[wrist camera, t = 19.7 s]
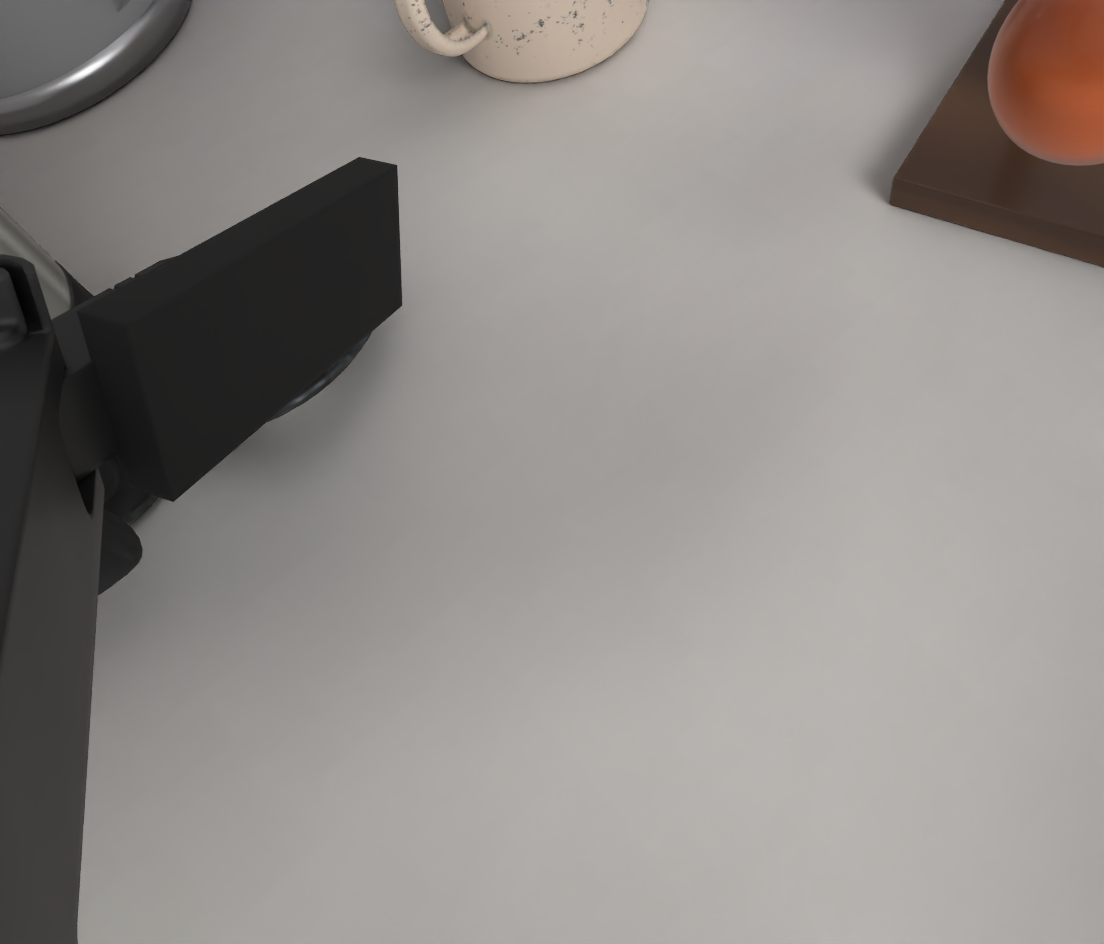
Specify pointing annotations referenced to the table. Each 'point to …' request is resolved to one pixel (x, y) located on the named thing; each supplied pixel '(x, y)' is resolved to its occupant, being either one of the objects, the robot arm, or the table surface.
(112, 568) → the milk frother
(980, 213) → the switch base
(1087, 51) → the switch lever
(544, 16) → the teacup with lid
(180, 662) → the table surface
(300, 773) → the table surface
